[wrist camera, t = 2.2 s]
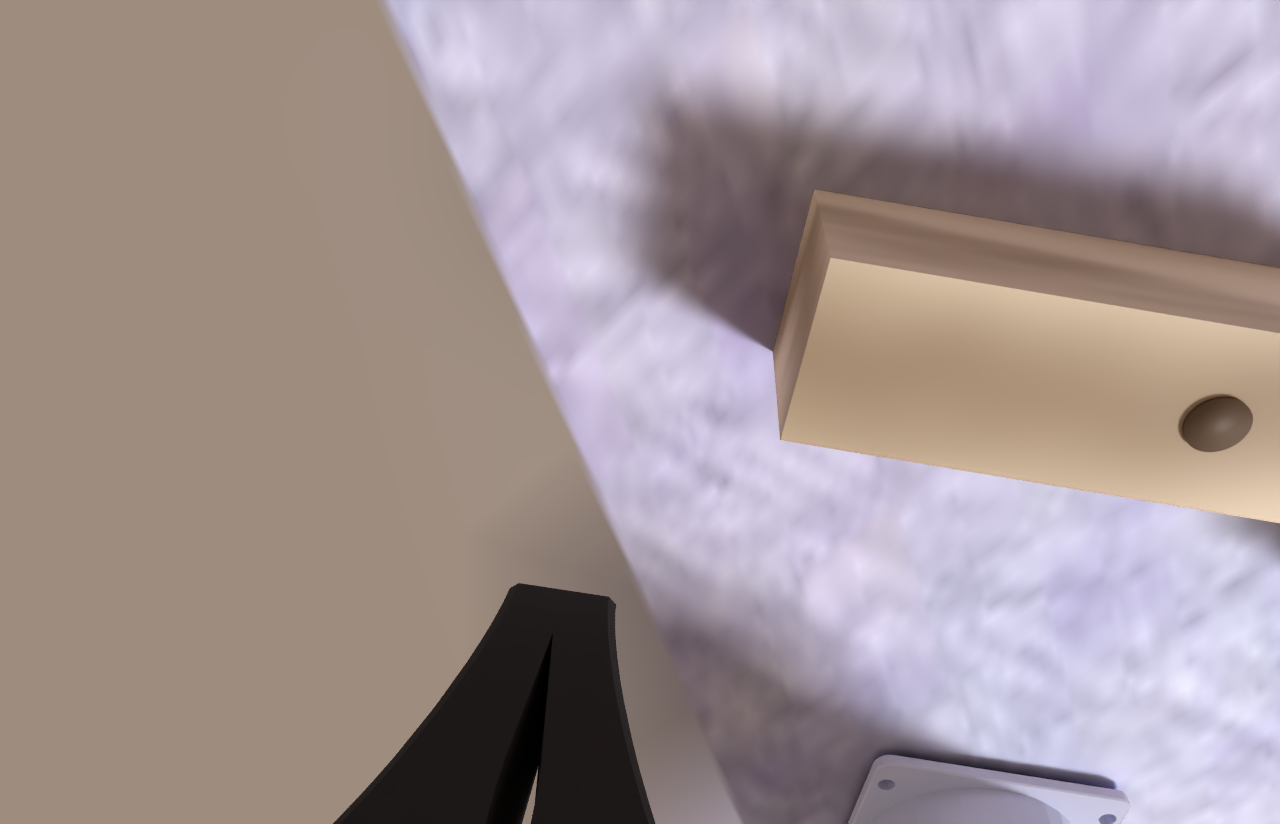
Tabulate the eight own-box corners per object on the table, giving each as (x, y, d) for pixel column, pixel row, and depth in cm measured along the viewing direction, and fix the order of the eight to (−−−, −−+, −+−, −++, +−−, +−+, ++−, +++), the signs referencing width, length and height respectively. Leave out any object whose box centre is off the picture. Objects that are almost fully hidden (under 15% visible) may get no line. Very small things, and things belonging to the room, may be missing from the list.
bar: (1265, 429, 22) (1365, 540, 19) (772, 347, 22) (780, 442, 19) (1359, 277, 20) (1491, 371, 17) (813, 185, 20) (831, 260, 16)
